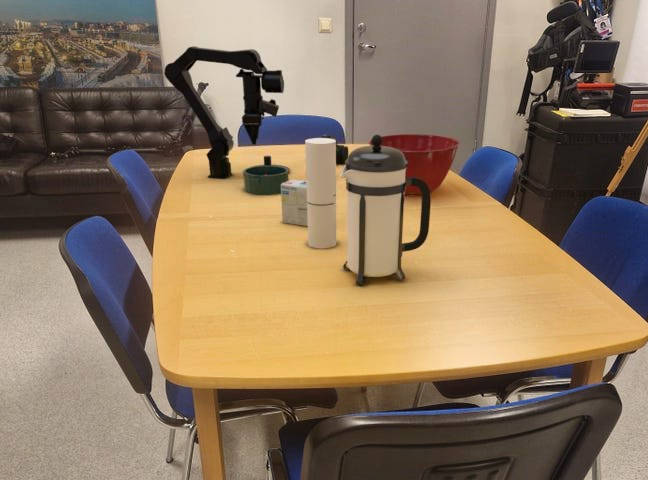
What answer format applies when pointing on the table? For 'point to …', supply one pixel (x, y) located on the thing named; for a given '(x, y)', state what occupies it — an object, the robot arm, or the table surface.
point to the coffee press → (379, 210)
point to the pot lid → (268, 163)
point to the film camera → (339, 151)
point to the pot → (265, 179)
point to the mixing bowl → (424, 157)
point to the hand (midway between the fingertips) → (255, 141)
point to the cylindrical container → (321, 192)
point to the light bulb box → (294, 202)
